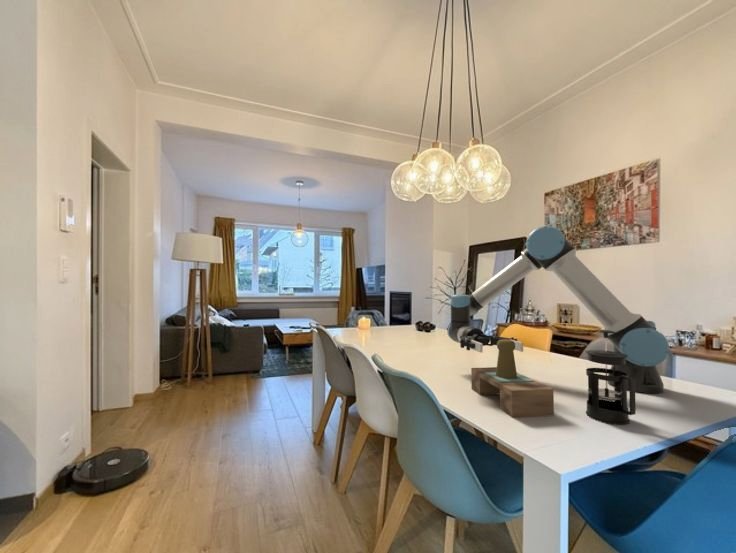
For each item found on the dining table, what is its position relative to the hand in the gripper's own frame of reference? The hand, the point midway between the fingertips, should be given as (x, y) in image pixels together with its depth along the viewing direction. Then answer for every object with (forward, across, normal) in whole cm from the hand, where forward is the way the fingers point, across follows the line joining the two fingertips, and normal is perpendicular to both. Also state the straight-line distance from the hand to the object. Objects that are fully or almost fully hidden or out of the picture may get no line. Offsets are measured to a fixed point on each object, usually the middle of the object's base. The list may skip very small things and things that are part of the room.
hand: (502, 347), depth 101 cm
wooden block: (+3, 0, -15) cm, 16 cm away
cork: (+2, 0, -8) cm, 9 cm away
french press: (+18, -20, -16) cm, 31 cm away
